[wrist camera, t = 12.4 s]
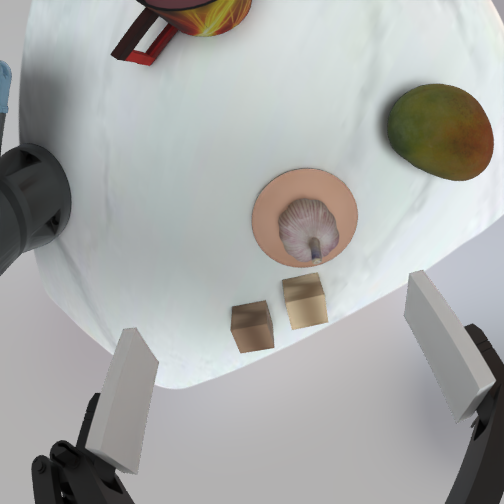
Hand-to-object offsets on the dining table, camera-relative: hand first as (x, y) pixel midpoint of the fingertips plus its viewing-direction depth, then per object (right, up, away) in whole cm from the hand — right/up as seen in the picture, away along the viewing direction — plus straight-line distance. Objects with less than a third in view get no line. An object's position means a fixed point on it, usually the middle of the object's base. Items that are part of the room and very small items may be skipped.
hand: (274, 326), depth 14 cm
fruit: (+20, +19, +17) cm, 32 cm away
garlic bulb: (+5, +7, +23) cm, 24 cm away
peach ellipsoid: (+5, +8, +23) cm, 25 cm away
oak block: (+6, -2, +29) cm, 30 cm away
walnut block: (-1, -6, +32) cm, 32 cm away
